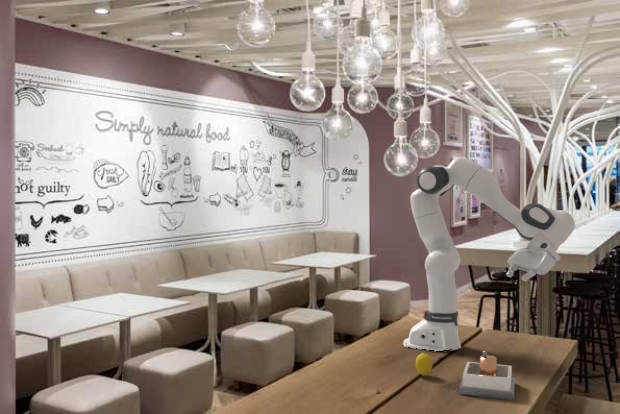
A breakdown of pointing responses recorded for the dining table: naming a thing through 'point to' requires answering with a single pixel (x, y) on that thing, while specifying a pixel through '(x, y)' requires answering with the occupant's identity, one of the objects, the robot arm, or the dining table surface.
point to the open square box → (488, 382)
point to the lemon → (424, 364)
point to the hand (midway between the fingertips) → (515, 278)
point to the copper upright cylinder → (488, 364)
